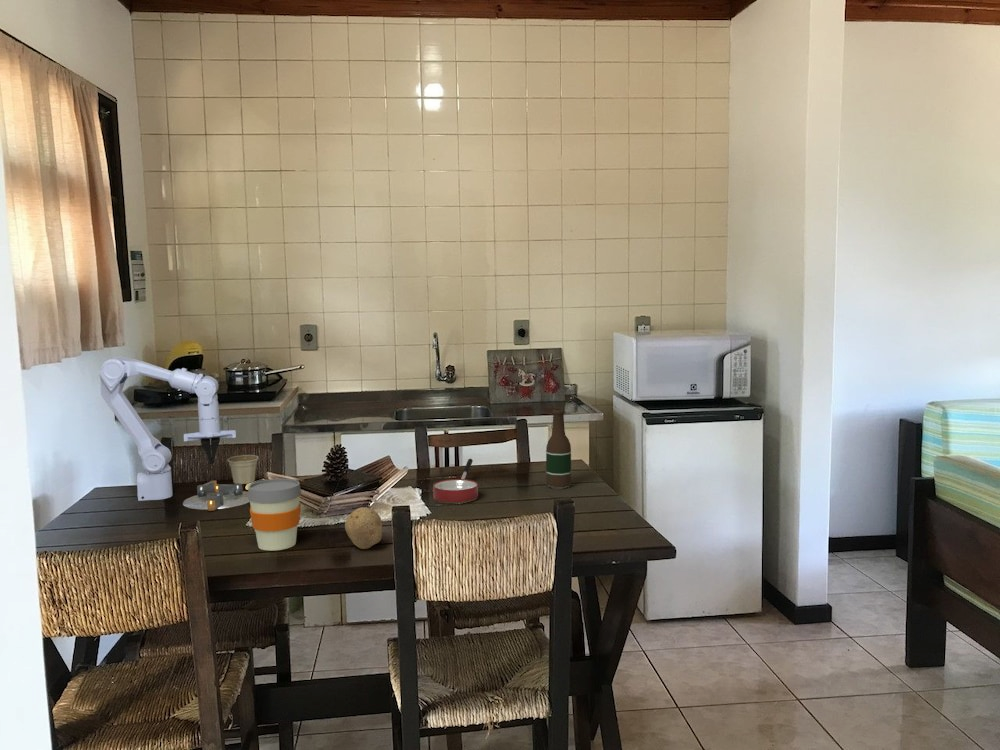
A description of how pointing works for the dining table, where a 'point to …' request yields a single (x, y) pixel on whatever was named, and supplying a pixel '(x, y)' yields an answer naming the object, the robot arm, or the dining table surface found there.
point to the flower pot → (243, 468)
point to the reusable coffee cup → (275, 512)
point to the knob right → (228, 489)
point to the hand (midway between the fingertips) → (211, 463)
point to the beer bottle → (558, 453)
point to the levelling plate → (229, 501)
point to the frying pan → (456, 488)
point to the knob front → (215, 501)
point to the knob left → (206, 488)
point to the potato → (364, 527)
